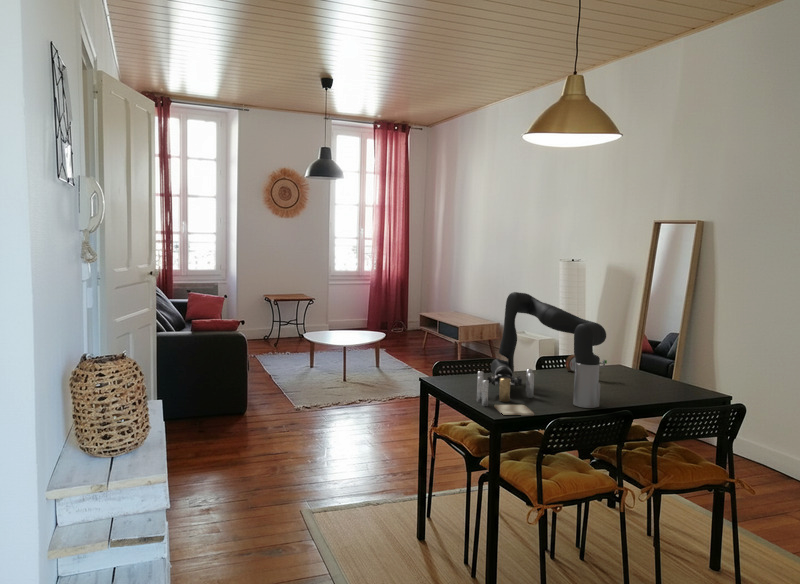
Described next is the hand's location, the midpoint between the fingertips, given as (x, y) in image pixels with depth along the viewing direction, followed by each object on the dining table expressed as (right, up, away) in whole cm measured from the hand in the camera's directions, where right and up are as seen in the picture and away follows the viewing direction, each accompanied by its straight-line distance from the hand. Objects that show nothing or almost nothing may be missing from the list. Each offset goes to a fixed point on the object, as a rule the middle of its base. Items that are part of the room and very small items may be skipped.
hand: (504, 383), depth 249 cm
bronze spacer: (0, -7, -1) cm, 7 cm away
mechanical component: (+50, -5, +43) cm, 66 cm away
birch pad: (+1, -8, -17) cm, 18 cm away
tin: (+48, -3, +62) cm, 79 cm away
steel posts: (+1, -6, +2) cm, 7 cm away
